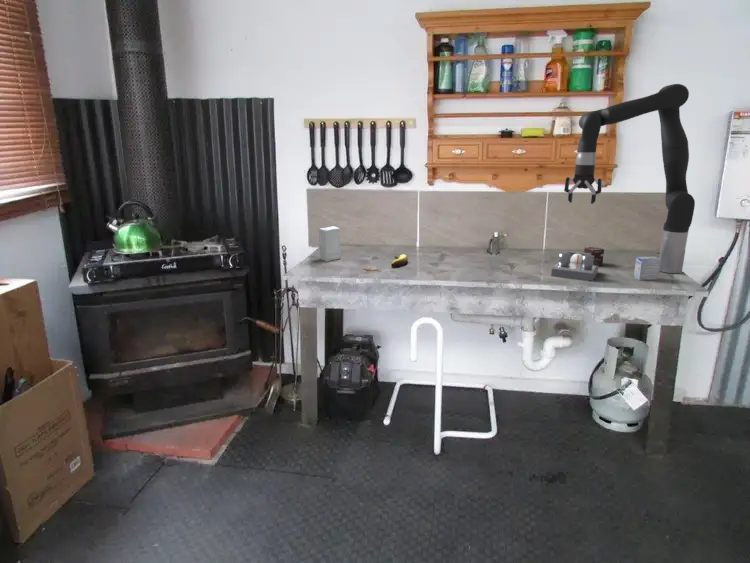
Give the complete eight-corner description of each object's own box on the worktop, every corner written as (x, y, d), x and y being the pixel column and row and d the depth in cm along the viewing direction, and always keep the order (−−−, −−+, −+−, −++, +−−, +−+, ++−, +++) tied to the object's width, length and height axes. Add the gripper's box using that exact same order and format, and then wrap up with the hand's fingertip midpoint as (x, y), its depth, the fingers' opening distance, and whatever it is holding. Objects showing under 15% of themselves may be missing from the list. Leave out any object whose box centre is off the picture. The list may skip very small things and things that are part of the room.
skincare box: (334, 256, 250) (333, 225, 246) (341, 259, 245) (340, 227, 241) (319, 259, 245) (318, 227, 241) (326, 261, 241) (325, 229, 236)
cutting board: (419, 276, 218) (420, 267, 217) (357, 272, 226) (357, 263, 225) (435, 257, 251) (435, 249, 249) (380, 253, 258) (380, 245, 257)
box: (590, 266, 231) (592, 250, 228) (582, 263, 236) (584, 247, 234) (602, 265, 232) (604, 249, 230) (593, 262, 238) (595, 246, 236)
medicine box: (652, 277, 214) (655, 256, 212) (658, 280, 210) (661, 259, 207) (633, 277, 214) (636, 256, 211) (638, 280, 210) (642, 259, 207)
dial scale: (597, 272, 221) (599, 254, 218) (592, 281, 209) (594, 261, 207) (558, 268, 228) (559, 250, 226) (551, 275, 216) (553, 257, 214)
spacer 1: (569, 265, 218) (571, 253, 217) (567, 267, 214) (569, 255, 213) (558, 263, 220) (560, 252, 219) (556, 266, 217) (557, 254, 215)
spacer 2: (587, 265, 216) (589, 254, 214) (594, 269, 212) (596, 257, 210) (578, 266, 215) (580, 254, 213) (584, 270, 211) (586, 258, 209)
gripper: (605, 163, 216) (600, 203, 220) (569, 162, 222) (565, 200, 227) (602, 164, 209) (598, 205, 214) (565, 163, 216) (561, 203, 221)
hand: (581, 203), depth 221 cm, fingers open, 8 cm apart
